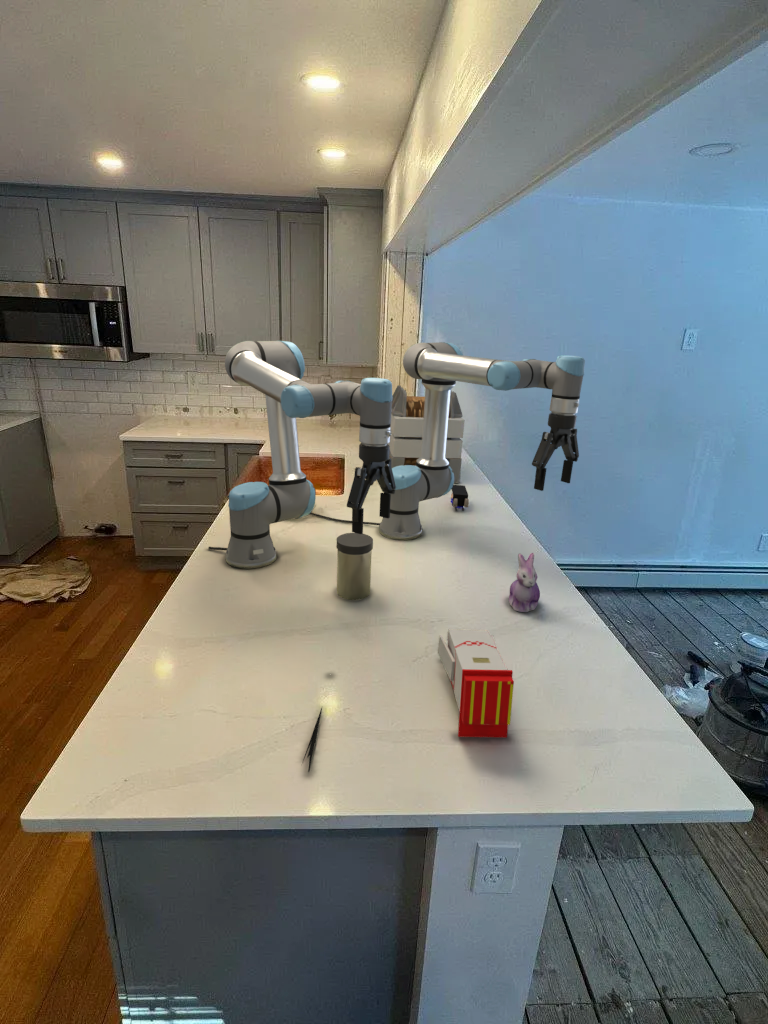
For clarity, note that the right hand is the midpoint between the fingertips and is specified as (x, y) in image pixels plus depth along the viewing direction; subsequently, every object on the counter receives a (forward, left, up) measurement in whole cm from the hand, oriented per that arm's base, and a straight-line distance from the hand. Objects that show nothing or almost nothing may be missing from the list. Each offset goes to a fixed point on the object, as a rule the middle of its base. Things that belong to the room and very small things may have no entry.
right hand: (552, 485), depth 166 cm
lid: (-24, -54, -12) cm, 60 cm away
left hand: (-17, -54, -6) cm, 57 cm away
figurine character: (-56, +25, -28) cm, 67 cm away
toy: (+26, -62, -28) cm, 72 cm away
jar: (-24, -54, -28) cm, 65 cm away
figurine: (+10, -21, -28) cm, 37 cm away
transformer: (-101, +46, -28) cm, 115 cm away
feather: (+14, -91, -28) cm, 96 cm away
